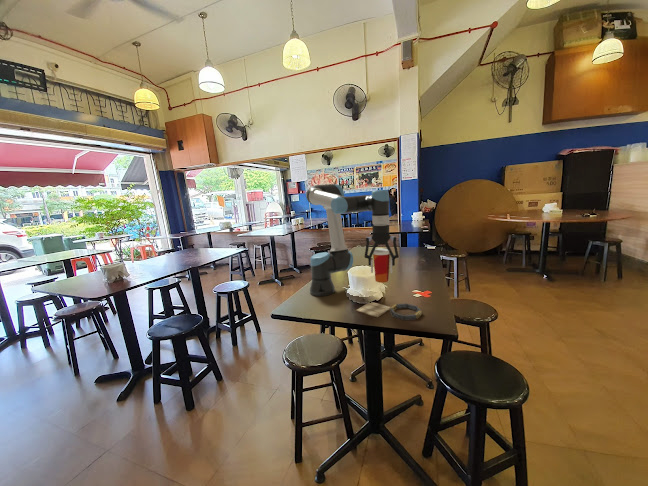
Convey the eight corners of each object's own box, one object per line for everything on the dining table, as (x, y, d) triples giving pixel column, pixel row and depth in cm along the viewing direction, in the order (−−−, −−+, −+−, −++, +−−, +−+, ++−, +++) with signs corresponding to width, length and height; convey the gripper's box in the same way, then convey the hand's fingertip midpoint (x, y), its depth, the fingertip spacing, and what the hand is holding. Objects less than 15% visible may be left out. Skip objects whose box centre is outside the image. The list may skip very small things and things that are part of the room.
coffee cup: (380, 276, 125) (380, 247, 122) (394, 280, 118) (394, 249, 116) (369, 280, 120) (368, 250, 117) (382, 285, 114) (382, 252, 111)
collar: (385, 314, 117) (385, 310, 116) (399, 305, 126) (399, 301, 125) (412, 322, 108) (412, 318, 107) (425, 312, 117) (425, 307, 116)
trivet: (356, 310, 123) (356, 309, 123) (370, 302, 131) (370, 301, 131) (377, 317, 115) (377, 316, 115) (391, 308, 123) (391, 307, 123)
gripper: (356, 226, 113) (358, 274, 117) (405, 224, 108) (405, 275, 112) (358, 224, 120) (360, 269, 125) (404, 222, 115) (404, 269, 120)
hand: (381, 272), depth 118 cm, fingers closed on coffee cup, 8 cm apart
